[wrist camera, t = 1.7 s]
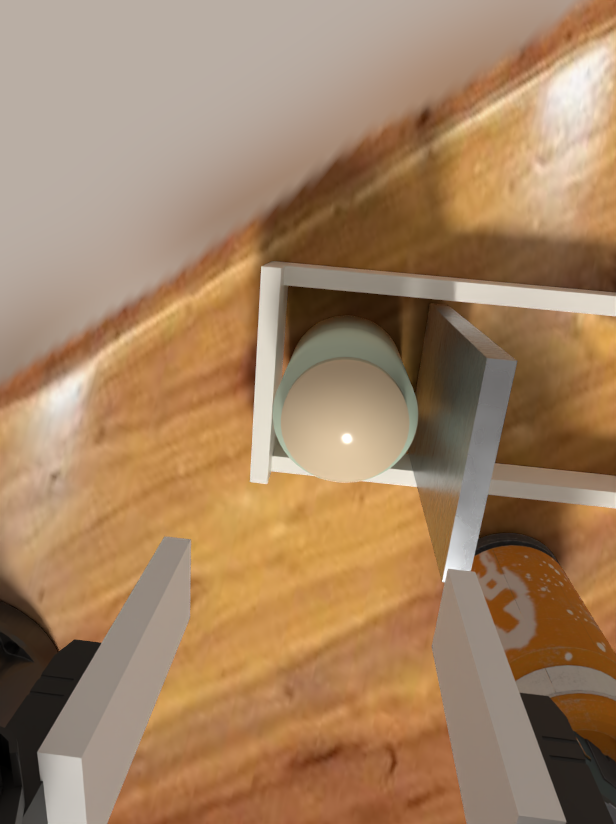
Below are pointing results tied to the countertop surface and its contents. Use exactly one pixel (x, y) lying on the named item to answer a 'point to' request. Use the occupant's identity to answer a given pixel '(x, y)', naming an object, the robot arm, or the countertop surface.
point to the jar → (345, 402)
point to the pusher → (457, 431)
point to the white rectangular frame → (285, 274)
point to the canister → (553, 644)
